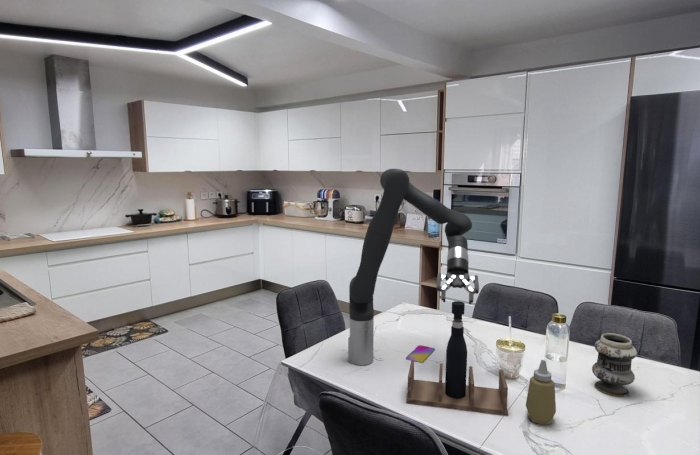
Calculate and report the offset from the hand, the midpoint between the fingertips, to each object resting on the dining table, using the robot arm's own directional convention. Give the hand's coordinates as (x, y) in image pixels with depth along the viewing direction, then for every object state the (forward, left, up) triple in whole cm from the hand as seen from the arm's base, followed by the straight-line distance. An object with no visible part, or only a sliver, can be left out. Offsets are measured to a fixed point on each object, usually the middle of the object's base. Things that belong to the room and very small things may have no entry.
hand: (457, 302), depth 139 cm
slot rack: (0, -11, -28) cm, 31 cm away
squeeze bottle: (+24, -17, -29) cm, 41 cm away
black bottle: (0, -11, -27) cm, 29 cm away
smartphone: (-13, +20, -29) cm, 37 cm away
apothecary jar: (+51, +7, -29) cm, 59 cm away
